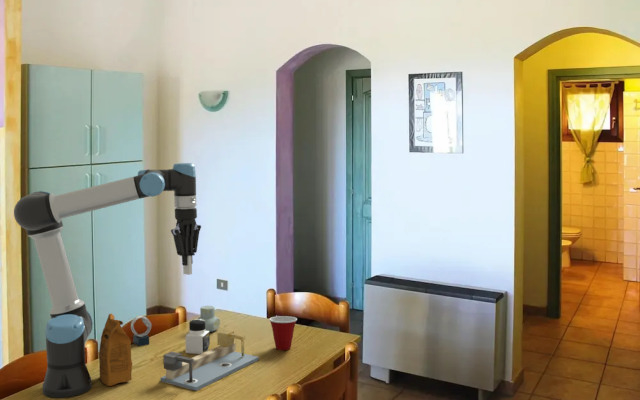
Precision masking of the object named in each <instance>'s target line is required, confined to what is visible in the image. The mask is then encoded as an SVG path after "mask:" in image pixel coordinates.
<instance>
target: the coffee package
mask: <svg viewBox="0 0 640 400" xmlns="http://www.w3.org/2000/svg"><path fill="white" fill-rule="evenodd" d="M122 325H124V322H123V320H119V319H116V317H115V315H114V314H113V313H109V314H108V316H107V319H106V321H105V324H104V327H103V329H102V333H101V337H100V343H99V351H98V353H99V354H98V362H99V363H98V364H99V378H100V380H101V383H102V384H103V385H106V386H107V387H112V386H114V385H115V386H116V385H118V384H120V383H127V382H129V381H132V378H133V377H132V373H133V372H132V370H133V359H132V343H131V339H130V337H129V336H128V334H127V333H126V332H125V330H124V329H123V328H122Z"/></svg>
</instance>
